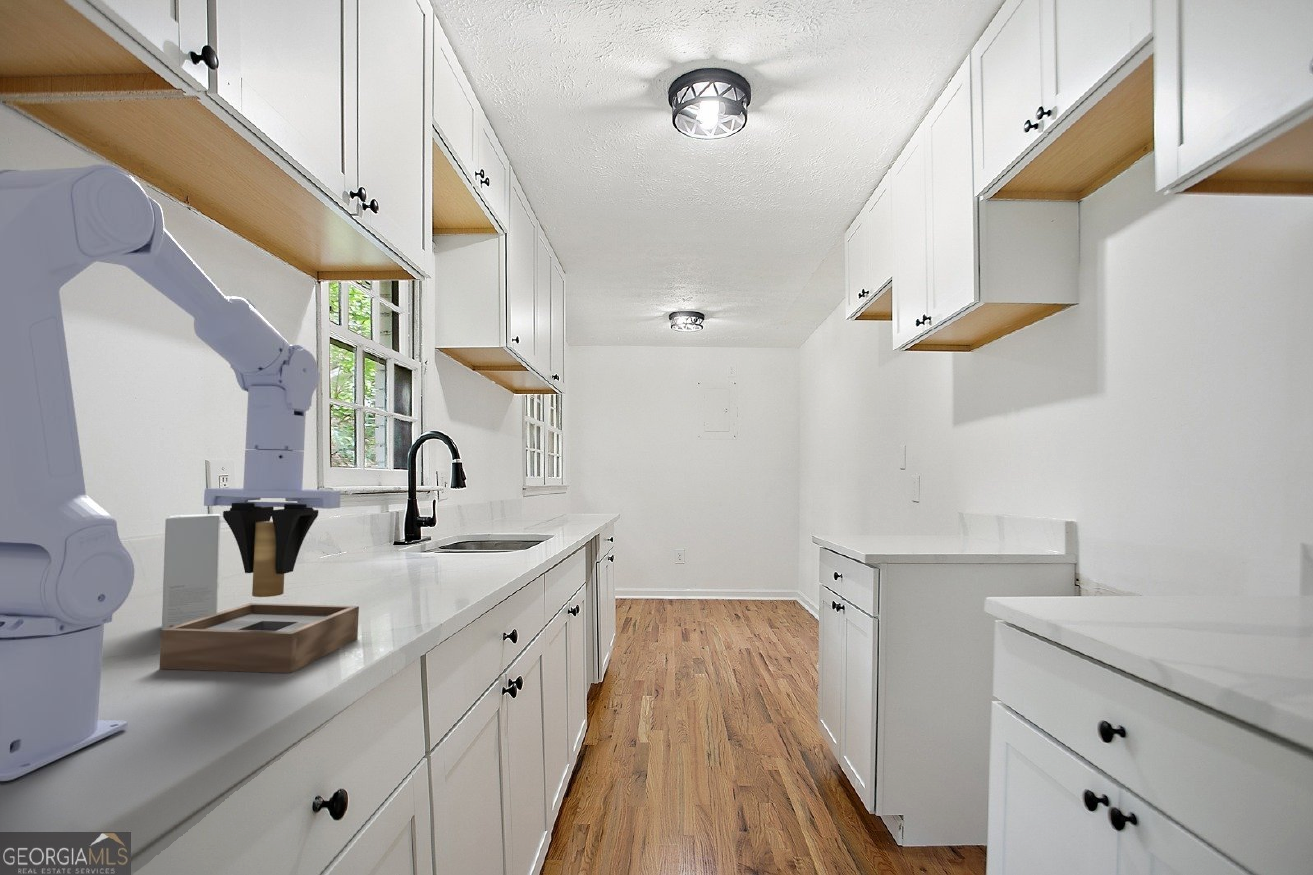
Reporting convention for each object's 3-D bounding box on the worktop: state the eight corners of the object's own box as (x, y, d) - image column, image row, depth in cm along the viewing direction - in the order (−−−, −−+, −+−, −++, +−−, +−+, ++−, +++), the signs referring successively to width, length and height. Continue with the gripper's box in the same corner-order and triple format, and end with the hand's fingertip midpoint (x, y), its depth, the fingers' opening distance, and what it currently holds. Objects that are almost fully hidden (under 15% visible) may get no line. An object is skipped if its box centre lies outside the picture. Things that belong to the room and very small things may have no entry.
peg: (273, 597, 71) (276, 523, 71) (245, 596, 71) (249, 523, 71) (289, 592, 74) (292, 521, 74) (262, 591, 74) (265, 520, 74)
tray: (290, 672, 67) (292, 633, 67) (159, 668, 68) (161, 629, 68) (357, 638, 81) (358, 606, 81) (248, 635, 82) (250, 603, 82)
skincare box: (216, 631, 83) (223, 515, 84) (157, 637, 80) (164, 516, 81) (217, 618, 90) (223, 511, 91) (163, 623, 87) (169, 512, 88)
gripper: (356, 452, 77) (351, 568, 76) (237, 450, 77) (231, 565, 77) (322, 450, 70) (317, 578, 69) (192, 448, 70) (185, 574, 70)
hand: (269, 572), depth 72 cm, fingers closed on peg, 3 cm apart
